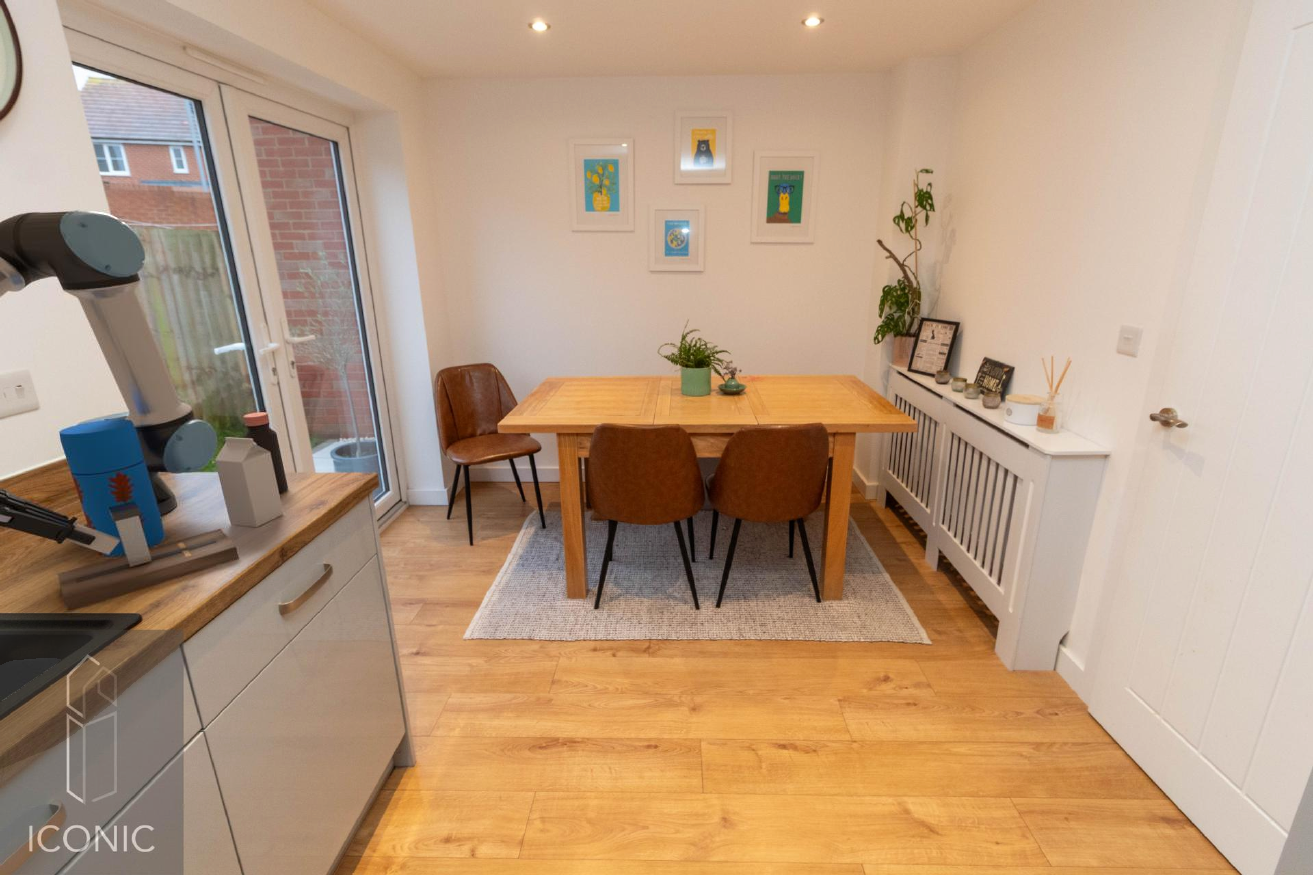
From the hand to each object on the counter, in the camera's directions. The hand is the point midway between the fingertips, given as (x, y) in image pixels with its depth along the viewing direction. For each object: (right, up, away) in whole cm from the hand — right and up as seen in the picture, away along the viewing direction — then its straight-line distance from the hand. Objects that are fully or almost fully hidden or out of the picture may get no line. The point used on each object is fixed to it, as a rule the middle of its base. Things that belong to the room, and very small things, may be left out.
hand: (113, 546), depth 104 cm
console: (+2, -6, +6) cm, 8 cm away
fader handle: (+1, -3, +4) cm, 5 cm away
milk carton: (+7, +1, +27) cm, 28 cm away
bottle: (0, +5, +43) cm, 43 cm away
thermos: (-11, -3, +17) cm, 20 cm away
